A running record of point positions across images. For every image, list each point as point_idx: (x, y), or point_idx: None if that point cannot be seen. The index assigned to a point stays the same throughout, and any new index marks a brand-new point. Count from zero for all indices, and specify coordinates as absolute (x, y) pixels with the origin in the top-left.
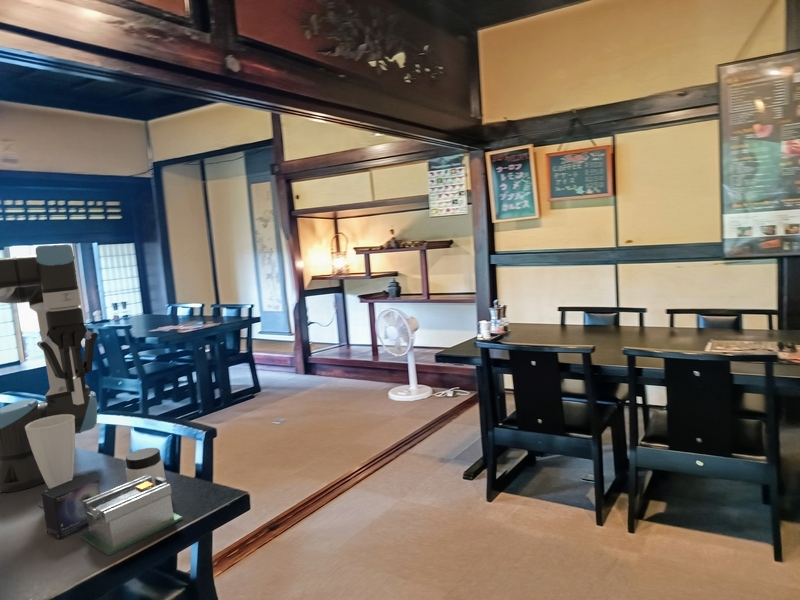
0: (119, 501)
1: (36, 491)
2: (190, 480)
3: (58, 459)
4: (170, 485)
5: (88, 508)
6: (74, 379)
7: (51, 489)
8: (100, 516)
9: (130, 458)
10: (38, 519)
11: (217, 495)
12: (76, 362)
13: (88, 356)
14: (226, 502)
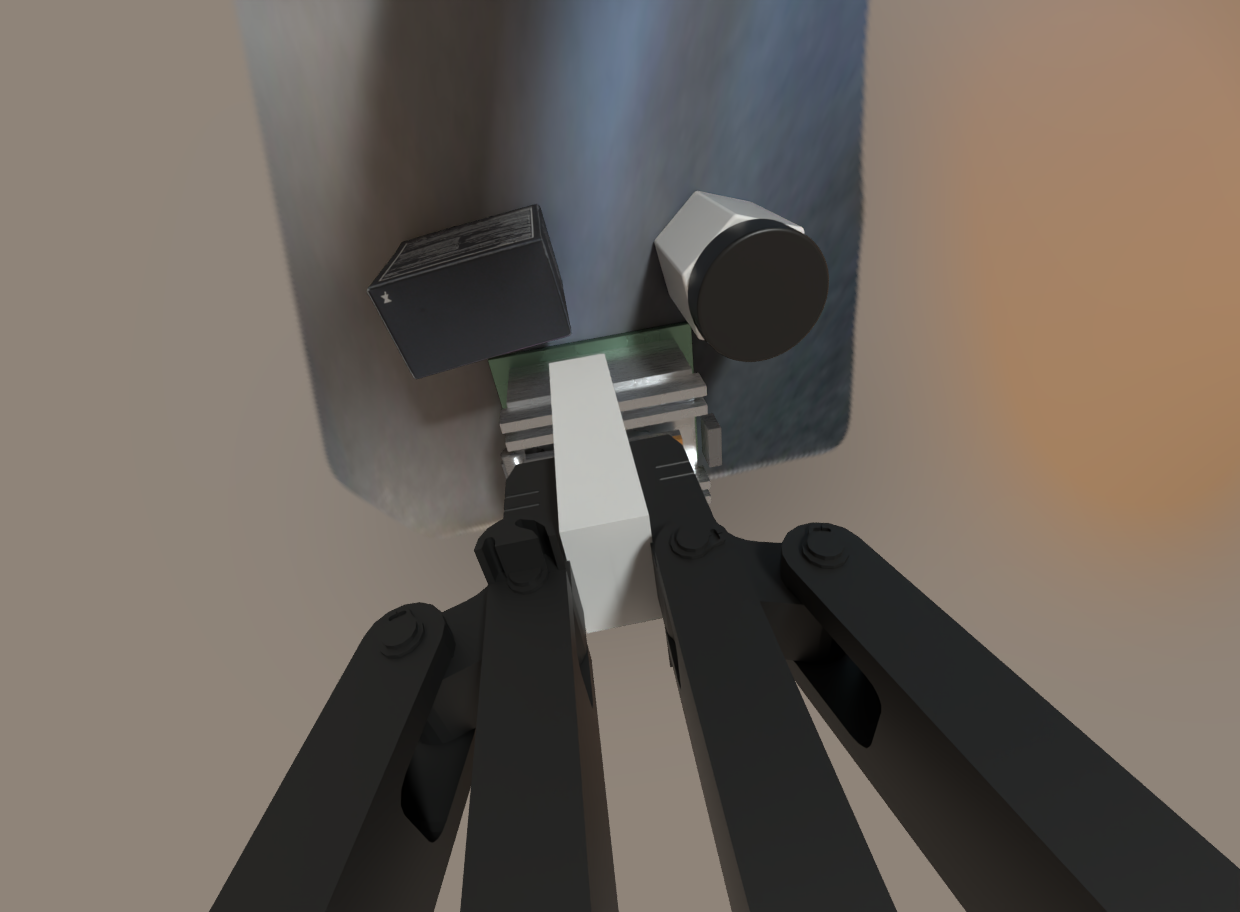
0: None
1: None
2: (848, 237)
3: None
4: (710, 501)
5: (508, 464)
6: (594, 625)
7: (405, 299)
8: None
9: (710, 313)
10: (362, 55)
11: (812, 406)
12: (714, 822)
13: (954, 876)
14: (797, 454)
